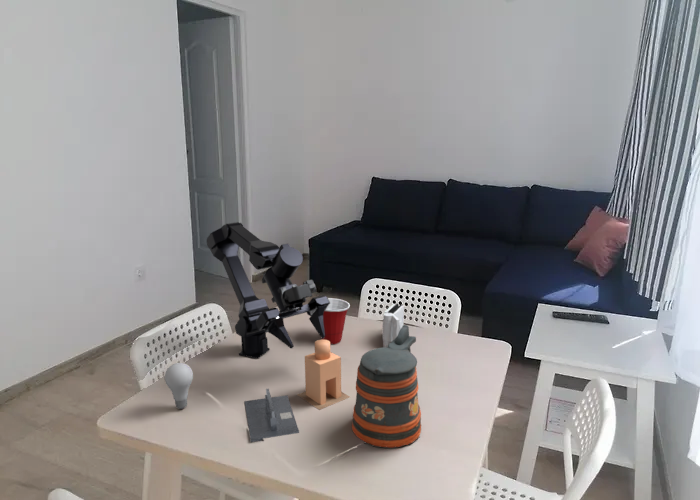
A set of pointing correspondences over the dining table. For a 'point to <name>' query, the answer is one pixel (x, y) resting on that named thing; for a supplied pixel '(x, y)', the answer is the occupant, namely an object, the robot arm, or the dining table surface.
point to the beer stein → (388, 395)
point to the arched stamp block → (322, 373)
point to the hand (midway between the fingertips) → (308, 342)
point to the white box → (392, 323)
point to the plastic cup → (335, 320)
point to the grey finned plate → (270, 417)
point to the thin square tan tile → (329, 400)
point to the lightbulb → (179, 382)
